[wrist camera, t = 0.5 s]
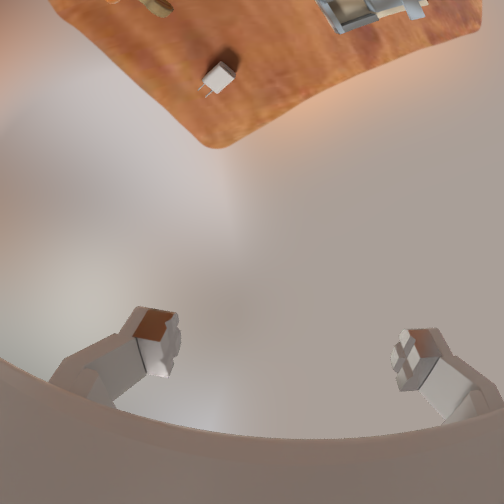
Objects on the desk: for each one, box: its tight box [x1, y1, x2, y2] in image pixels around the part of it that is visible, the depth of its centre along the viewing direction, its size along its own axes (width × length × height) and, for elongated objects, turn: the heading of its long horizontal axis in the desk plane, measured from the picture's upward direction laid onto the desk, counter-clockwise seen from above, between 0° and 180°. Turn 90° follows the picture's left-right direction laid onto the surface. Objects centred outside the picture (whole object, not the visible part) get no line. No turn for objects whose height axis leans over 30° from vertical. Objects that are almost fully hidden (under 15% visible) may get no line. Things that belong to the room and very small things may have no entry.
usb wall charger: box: [198, 61, 236, 97], centre depth 46 cm, size 4×7×4 cm, turn 133°
